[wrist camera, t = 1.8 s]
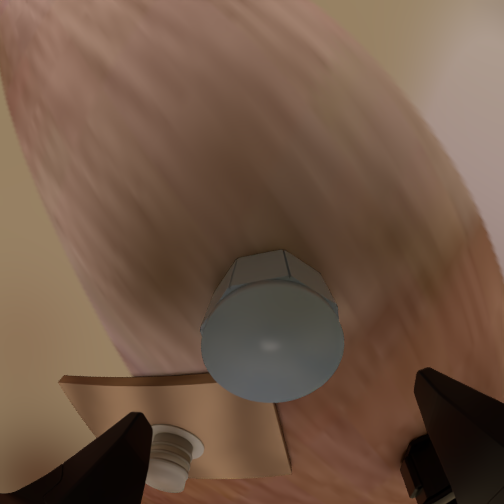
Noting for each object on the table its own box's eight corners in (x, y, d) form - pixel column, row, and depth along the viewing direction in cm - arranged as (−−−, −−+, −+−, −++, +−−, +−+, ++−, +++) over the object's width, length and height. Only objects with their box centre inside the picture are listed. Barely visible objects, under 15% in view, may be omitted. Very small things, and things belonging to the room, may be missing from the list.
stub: (266, 366, 16) (266, 430, 11) (291, 465, 19) (293, 512, 14) (64, 375, 17) (32, 414, 13) (127, 463, 21) (113, 500, 16)
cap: (316, 242, 14) (338, 273, 10) (328, 338, 15) (346, 389, 11) (205, 264, 14) (182, 302, 10) (231, 354, 16) (222, 408, 12)
